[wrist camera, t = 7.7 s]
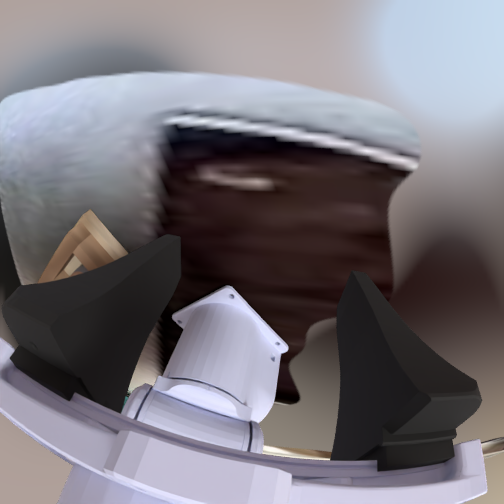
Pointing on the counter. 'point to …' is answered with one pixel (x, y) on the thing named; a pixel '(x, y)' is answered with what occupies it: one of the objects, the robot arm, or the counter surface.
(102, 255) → the socket holder
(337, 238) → the counter surface
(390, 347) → the robot arm
